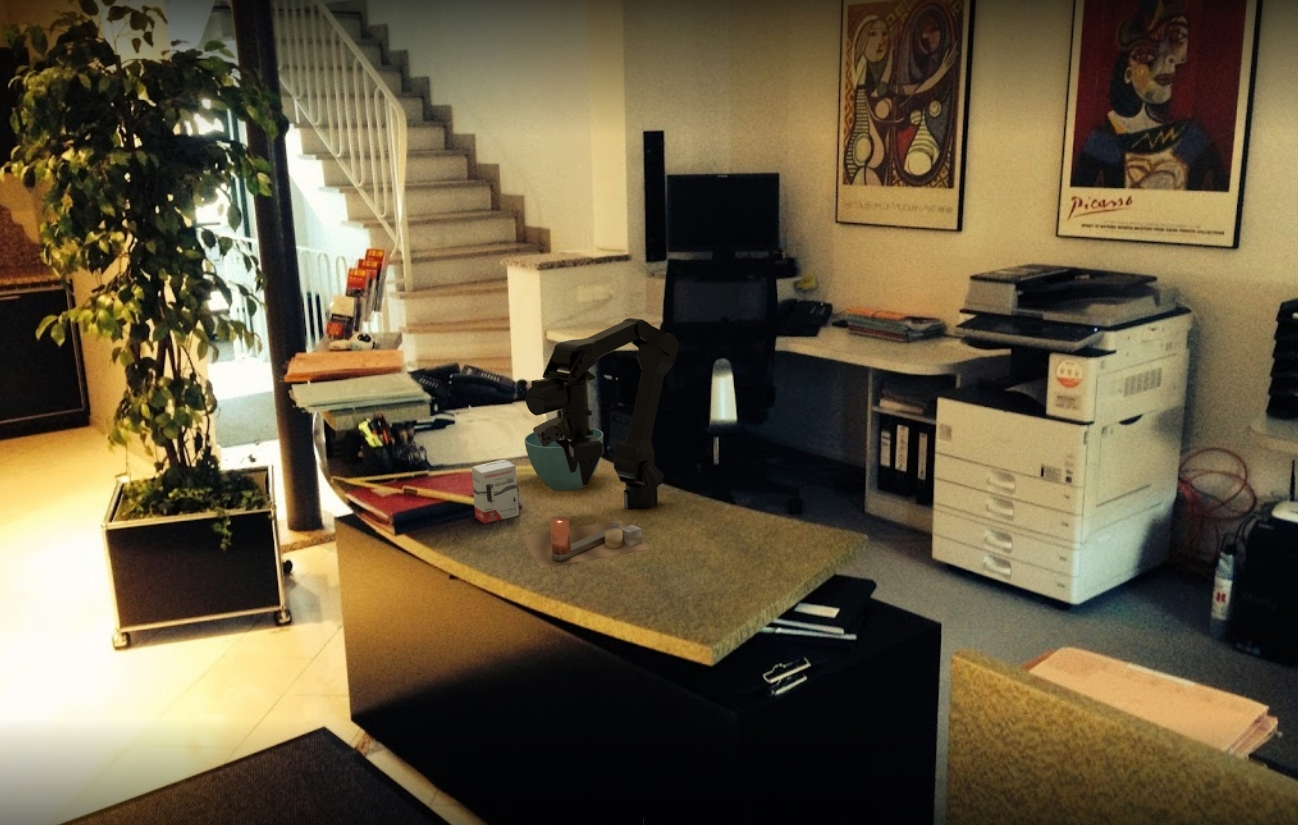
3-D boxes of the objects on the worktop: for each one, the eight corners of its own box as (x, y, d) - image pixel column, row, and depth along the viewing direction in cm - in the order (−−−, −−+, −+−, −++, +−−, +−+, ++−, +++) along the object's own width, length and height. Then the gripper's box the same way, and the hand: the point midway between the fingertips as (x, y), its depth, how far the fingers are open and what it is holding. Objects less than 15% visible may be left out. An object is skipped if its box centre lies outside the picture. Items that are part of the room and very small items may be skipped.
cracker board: (622, 525, 234) (621, 506, 233) (650, 554, 218) (649, 534, 217) (519, 542, 227) (518, 522, 226) (541, 573, 211) (540, 553, 210)
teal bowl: (512, 491, 259) (508, 441, 255) (561, 470, 273) (558, 421, 270) (573, 503, 248) (569, 451, 245) (621, 480, 263) (618, 431, 260)
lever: (603, 534, 225) (601, 498, 223) (616, 538, 223) (614, 502, 221) (548, 558, 214) (546, 520, 212) (561, 562, 212) (559, 524, 210)
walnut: (619, 541, 222) (619, 527, 221) (625, 547, 219) (624, 533, 218) (603, 544, 221) (602, 530, 220) (608, 550, 218) (607, 535, 217)
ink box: (484, 524, 238) (480, 471, 235) (474, 518, 242) (470, 466, 239) (520, 515, 243) (516, 463, 240) (510, 509, 247) (506, 458, 244)
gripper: (524, 399, 229) (529, 471, 233) (547, 420, 212) (552, 498, 216) (576, 393, 233) (580, 464, 237) (602, 413, 216) (606, 489, 220)
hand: (578, 478), depth 227 cm, fingers open, 9 cm apart
